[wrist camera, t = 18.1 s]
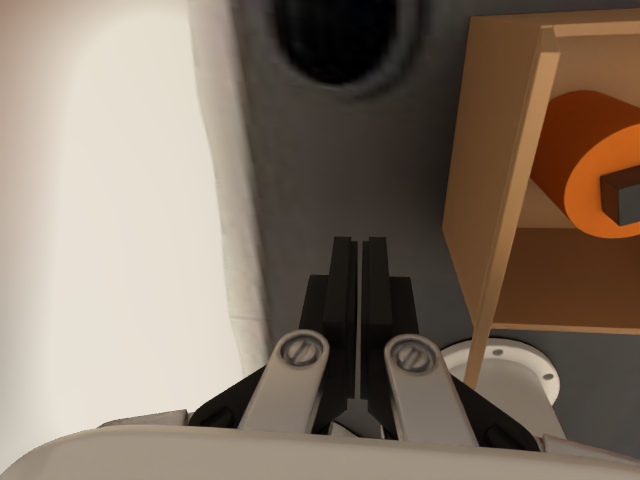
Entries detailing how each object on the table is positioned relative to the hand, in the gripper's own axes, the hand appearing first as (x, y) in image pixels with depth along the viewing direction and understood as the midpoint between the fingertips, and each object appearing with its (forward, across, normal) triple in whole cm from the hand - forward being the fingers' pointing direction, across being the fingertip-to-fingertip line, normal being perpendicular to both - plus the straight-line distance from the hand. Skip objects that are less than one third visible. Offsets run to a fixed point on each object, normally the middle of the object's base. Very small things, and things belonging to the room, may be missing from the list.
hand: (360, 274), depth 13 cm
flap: (+1, -5, 0) cm, 5 cm away
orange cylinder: (+15, -13, 0) cm, 20 cm away
